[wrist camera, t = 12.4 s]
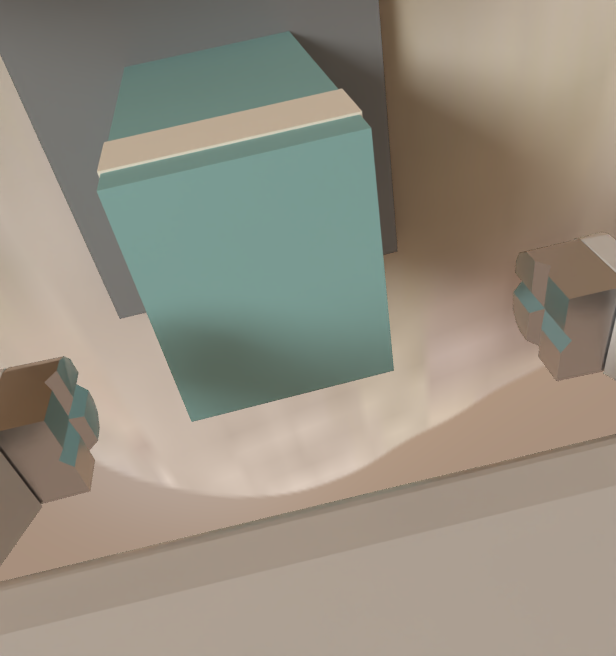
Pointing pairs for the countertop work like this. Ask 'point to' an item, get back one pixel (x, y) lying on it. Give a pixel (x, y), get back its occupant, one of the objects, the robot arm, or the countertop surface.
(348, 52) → the mat
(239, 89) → the tea box
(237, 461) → the countertop surface
